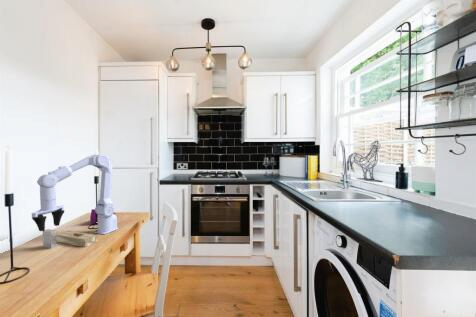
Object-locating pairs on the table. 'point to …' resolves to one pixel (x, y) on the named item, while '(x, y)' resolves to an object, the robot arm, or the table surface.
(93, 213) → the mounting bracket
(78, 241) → the post beam
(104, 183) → the robot arm
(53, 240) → the rectangular metal block
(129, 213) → the table surface
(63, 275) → the table surface
